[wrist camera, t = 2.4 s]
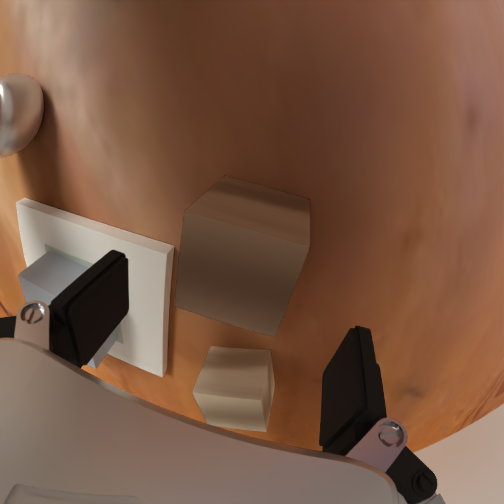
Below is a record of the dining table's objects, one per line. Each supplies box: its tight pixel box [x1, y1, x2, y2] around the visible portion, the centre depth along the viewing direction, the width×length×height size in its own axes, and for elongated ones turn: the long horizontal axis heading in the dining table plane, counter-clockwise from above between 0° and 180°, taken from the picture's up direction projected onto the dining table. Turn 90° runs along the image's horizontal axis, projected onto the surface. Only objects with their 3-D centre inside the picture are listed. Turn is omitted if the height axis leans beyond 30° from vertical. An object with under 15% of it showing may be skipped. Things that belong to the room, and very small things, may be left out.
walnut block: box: [175, 176, 310, 338], centre depth 15 cm, size 5×5×6 cm
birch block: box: [192, 346, 275, 432], centre depth 22 cm, size 5×5×5 cm
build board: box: [16, 198, 174, 377], centre depth 22 cm, size 14×16×1 cm
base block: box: [18, 251, 118, 369], centre depth 20 cm, size 7×7×4 cm
